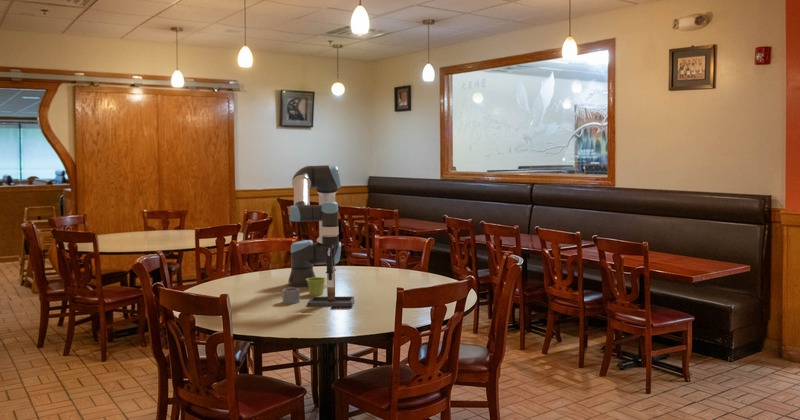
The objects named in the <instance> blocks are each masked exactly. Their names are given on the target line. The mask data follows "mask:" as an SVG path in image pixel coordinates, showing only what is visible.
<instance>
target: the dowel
mask: <svg viewBox="0 0 800 420" xmlns="http://www.w3.org/2000/svg"><path fill="white" fill-rule="evenodd" d="M335 269H336V266H335V267H334V266H333V279H334V287H328V284H327V283H326V294H327V295H326V297H327V301H328V302H335V297H336V271H335Z"/></svg>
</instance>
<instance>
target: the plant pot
mask: <svg viewBox="0 0 800 420" xmlns="http://www.w3.org/2000/svg"><path fill="white" fill-rule="evenodd" d="M306 280H307V283H308V286H307V287H308V292H309V293H308V294H309V295H310V296H311V297H319V296H322V295H323V294H324V285H325V281H326V278H325V277H321V276H320V277H319V276H317V277H316V276H315V277H313V278H308V279H306Z"/></svg>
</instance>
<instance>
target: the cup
mask: <svg viewBox="0 0 800 420" xmlns="http://www.w3.org/2000/svg"><path fill="white" fill-rule="evenodd" d="M300 291H301V289H300V288H299V287H288V288H287V287H286V288H283V289H282V293H281V294H282V304H284V305H296V304H299V303H300V300H301V299H300V293H301V292H300Z"/></svg>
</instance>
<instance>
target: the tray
mask: <svg viewBox="0 0 800 420" xmlns="http://www.w3.org/2000/svg"><path fill="white" fill-rule="evenodd" d="M354 304H355V296H351V295H350V296H335V302H328V301H327V296H311V298H310V299H309V300H308V302H307V307H330V309H352V308H353V307H354Z"/></svg>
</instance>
